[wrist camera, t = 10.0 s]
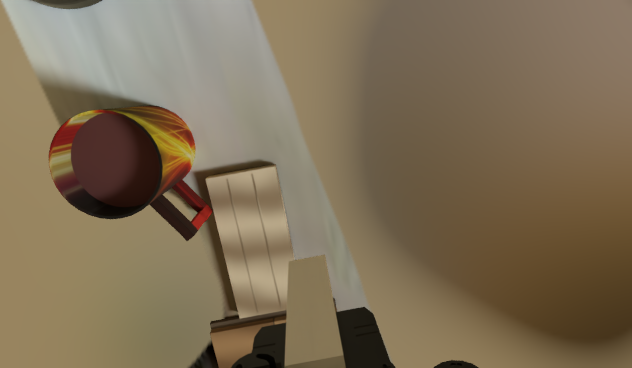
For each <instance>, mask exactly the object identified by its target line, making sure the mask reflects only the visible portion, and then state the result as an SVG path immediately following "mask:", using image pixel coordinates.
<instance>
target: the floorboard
mask: <svg viewBox="0 0 632 368" xmlns="http://www.w3.org/2000/svg"><path fill="white" fill-rule="evenodd" d="M333 301H334V307H335V312H337V309H336V304H335V299H333ZM286 316H287V310H284V311H279V312H273V313H268V314H262V315H257V316H251V317H246V318H241V319H240V318H239V316H238V317H232V318H227V319H221V320H216V321H211V323H210V325H211V329H212V330H211V333H210V335H211V339H212V343H213V347H214V351H215V354H216V358H217V362H218V366H219V368H231V367H232V365H233V364H234V363H235V362H236V361H237V360H238V359H240V358H241V357H243V356H245V355H247V354H249V353H252V349H253V342H254V337H255V335H256V334H257V333H258V331H259V330H260V329H261V327H265V326H270V325H275V324H281V323H286Z"/></svg>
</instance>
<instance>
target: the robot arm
mask: <svg viewBox="0 0 632 368" xmlns="http://www.w3.org/2000/svg"><path fill="white" fill-rule="evenodd" d="M33 1H36V2H38V3H41V4H44V5H47V6H51V7H55V8H61V9H77V8H83V7H88V6H91V5H93V4H96V3H98V2H100V1H102V0H33ZM231 368H395V366H394V365H393V364H392V363H391V362H390V360H389V357H388V354H387V351H386V348H385V345H384V343H383V340H382V337H381V334H380V332H379V329H378V326H377V323H376V320H375V317H374V315H373V313H372V312H370V311H369V310H368V309H366V308H365V307H361V308H356V309H350V310H345V311H340V312H335V307H334V301H333V296H332V290H331V285H330V280H329V274H328V269H327V263H326V258H325V255H321V256H315V257H310V258H304V259H299V260H294V261H289V265H288V290H287V316H286V323H281V324H275V325H270V326H265V327H261V329H260V330H259V331H258V333H257V334H256V335H255V337H254V342H253V349H252V353H249V354H247V355H245V356H243V357H241V358H240V359H238V360H237V361H236V362H235V363H234V364H233V365H232V367H231ZM434 368H478V367H477V366H475V365H473V364H471V363H467V362H464V361H453V360H451V361H446V362H442V363H440V364H438V365H437V366H435V367H434Z"/></svg>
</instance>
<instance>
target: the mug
mask: <svg viewBox="0 0 632 368" xmlns="http://www.w3.org/2000/svg"><path fill="white" fill-rule="evenodd" d="M194 158H195V143H194V139H193V136H192V133H191V131H190V129H189V128H188V126H187V125H186V123H185V122H184V121H183V120H182V119H181V118H180V117H179V116H177V115H176V114H175V113H173V112H171V111H169V110H167V109H165V108H161V107H157V106H140V107H127V108H115V109H102V110H90V111H86V112H83V113H80V114H77V115H76V116H74V117H72V118H70V119H69V120H67V121H66V122H65V123H64V124H63V125H62V126H61V127H60V128H59V130H58V131H57V133H56V134H55V136H54V138H53V140H52V143H51V146H50V151H49V168H50V172H51V176H52V179H53V181H54V183H55V185H56V187H57V189H58V190H59V192H60V193H61V194H62V196H63V197H64V198H65V199H66V200H67V201H68V202H69V203H70V204H71V205H73V206H75V207H76V208H77V209H78V210H80V211H82V212H84V213H86V214H88V215H91V216H95V217H98V218H105V219H118V218H124V217H128V216H131V215H133V214H135V213H137V212H139V211H141V210H142V209H144V208H145V207H146V206H148V205H151V206H152V207H153V208H154V209H155V210H156V211H157V212H158V213H159V214H160V215H161V216H162V217H163V218H164V219H165V220H166V221H167V222H168V223H169V224H170V225H171V226H172V227H174V228H175V229H176V230H177V231H178V232H179V233H180V234H181V235H182V236H183V237H184V238H185V240H186V241H188V240H189V239H191V238H192V237H193V236H194V235H195V234H196V233H197V231H198V230H199V228H200V227H201V226H202V224H203V223H204V222H205V221H206V220H207V219H208V217H209V216H210V214H211V213H212V212H213V210H212V209H211V208H210V207H209V206H208V205H207V204H206V203H205V202H204V201H203V200H202V199H201V198H200V197H199V196H198V195H197V194H196V193H195V192H194V191H193V190H192V189H191V188H190V187H189V186H188V185H187V184H186V183H185V182H184V181H183V180H182V179H183V178H184V177H185V176H186V175H187V174H188V172H189V171H190V169H191V167H192V165H193V162H194ZM170 188H173V189H174V190H175V191H176V192H177V193H178V194H179V195H180V196H181V197H182V198H183V199H184V200H185V201H186V202H187V203H188V204H189V205H190V206H191V207H192V208H194V209H195V210H196V211H197V212H198V213H197V215H196V216H195V217H194V218H193V220H192V221H191V222H190V221H189V220H188V219H187V218H186V217H185V216H184V215H183V214H182V213H181V212H180V211H179V210H178V209H177V208H175V206H174V205H173V204H172V203H171V202H170V201H169V200H168V199H166V198H165V197H164V196H163V195H162V194H164V193H165V192H166V191H168V190H169V189H170Z"/></svg>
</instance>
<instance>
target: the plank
mask: <svg viewBox="0 0 632 368" xmlns="http://www.w3.org/2000/svg"><path fill="white" fill-rule="evenodd" d="M206 183H207V187H208V191H209V195H210V199H211V203H212V207H213V212H214V216H215V220H216V224H217V228H218V232H219V236H220V240H221V244H222V248H223V252H224V257H225V261H226V265H227V269H228V273H229V277H230V281H231V285H232V289H233V293H234V298H235V302H236V306H237V310H238V314H239V318H240V319H241V318H246V317H251V316H257V315H262V314H268V313H273V312H279V311H284V310H287V290H288V265H289V261H294V260H295V258H294V253H293V248H292V243H291V238H290V233H289V228H288V223H287V218H286V213H285V208H284V203H283V198H282V193H281V188H280V183H279V178H278V173H277V168H276V164H273V165H267V166H262V167H256V168H251V169H245V170H240V171H234V172H229V173H223V174H218V175H212V176H208V177H207V178H206Z"/></svg>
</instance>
